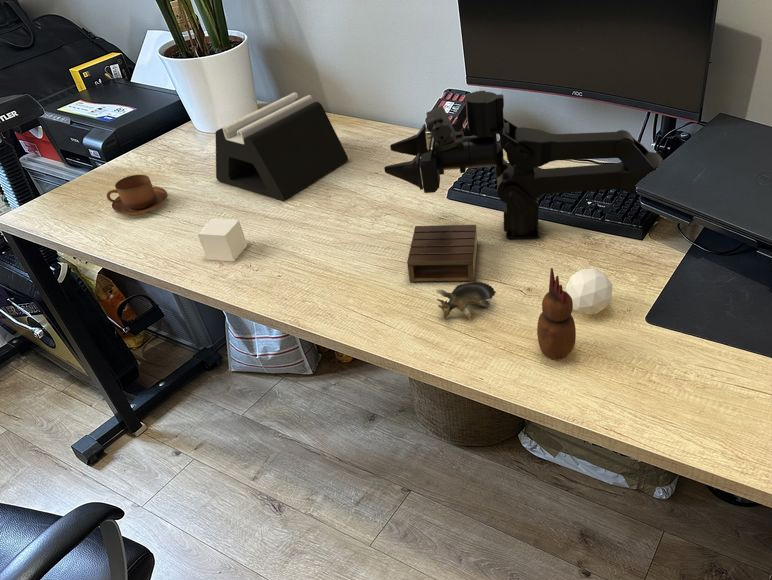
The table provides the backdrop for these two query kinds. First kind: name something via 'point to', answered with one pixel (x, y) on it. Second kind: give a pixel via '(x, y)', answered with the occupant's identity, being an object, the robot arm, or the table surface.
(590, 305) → the geometric ball
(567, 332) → the wooden figurine
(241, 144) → the device stand
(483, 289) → the brown grey dinosaur figurine
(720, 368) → the table surface
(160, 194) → the cup and saucer
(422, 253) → the box
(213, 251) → the cream white cube
